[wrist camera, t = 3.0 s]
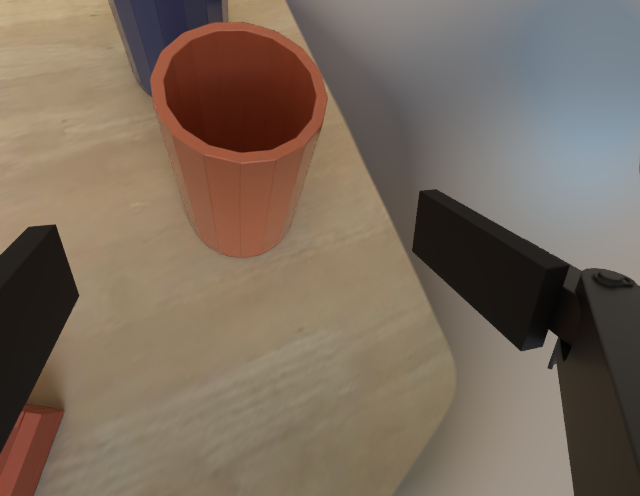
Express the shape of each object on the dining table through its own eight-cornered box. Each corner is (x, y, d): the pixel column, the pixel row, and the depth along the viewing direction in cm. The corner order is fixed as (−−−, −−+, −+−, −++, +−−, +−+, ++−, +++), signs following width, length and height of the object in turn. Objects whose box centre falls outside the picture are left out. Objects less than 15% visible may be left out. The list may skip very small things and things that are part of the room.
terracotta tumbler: (299, 178, 28) (337, 48, 17) (281, 267, 26) (311, 181, 15) (204, 155, 28) (180, 2, 16) (176, 245, 25) (125, 136, 14)
